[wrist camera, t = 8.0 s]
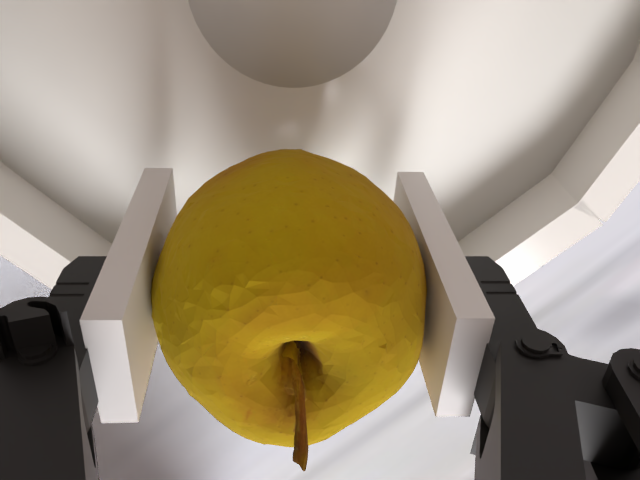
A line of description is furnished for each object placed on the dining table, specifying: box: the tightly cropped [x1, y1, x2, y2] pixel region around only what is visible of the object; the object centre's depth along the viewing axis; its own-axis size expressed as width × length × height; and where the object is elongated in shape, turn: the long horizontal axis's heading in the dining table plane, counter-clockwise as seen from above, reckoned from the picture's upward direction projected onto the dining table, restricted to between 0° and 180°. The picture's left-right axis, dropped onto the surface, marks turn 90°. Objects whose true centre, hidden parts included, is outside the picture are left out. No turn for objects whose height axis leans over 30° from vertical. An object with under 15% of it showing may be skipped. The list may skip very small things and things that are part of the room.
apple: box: [151, 149, 427, 471], centre depth 14 cm, size 6×6×8 cm
